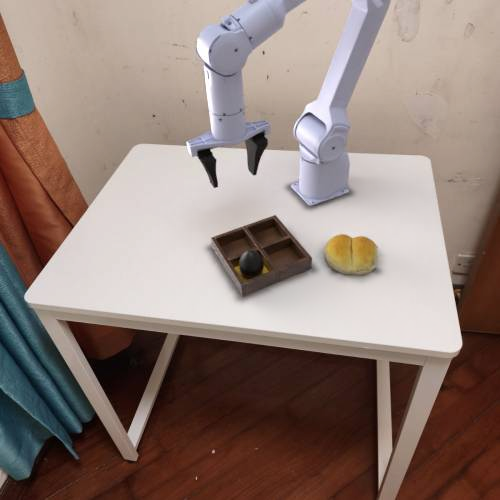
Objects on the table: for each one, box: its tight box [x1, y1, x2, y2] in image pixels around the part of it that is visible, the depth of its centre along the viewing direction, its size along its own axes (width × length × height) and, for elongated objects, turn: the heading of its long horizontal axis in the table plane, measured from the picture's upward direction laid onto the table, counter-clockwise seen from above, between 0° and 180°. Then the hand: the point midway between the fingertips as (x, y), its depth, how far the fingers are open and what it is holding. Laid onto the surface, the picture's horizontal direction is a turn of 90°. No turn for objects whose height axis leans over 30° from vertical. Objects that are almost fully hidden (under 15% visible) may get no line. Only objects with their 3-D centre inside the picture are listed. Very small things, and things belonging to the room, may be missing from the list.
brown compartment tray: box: [210, 214, 313, 297], centre depth 78 cm, size 13×13×3 cm
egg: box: [239, 250, 264, 279], centre depth 74 cm, size 4×4×5 cm
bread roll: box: [323, 233, 379, 275], centre depth 76 cm, size 8×9×4 cm
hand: (233, 178), depth 81 cm, fingers open, 7 cm apart
